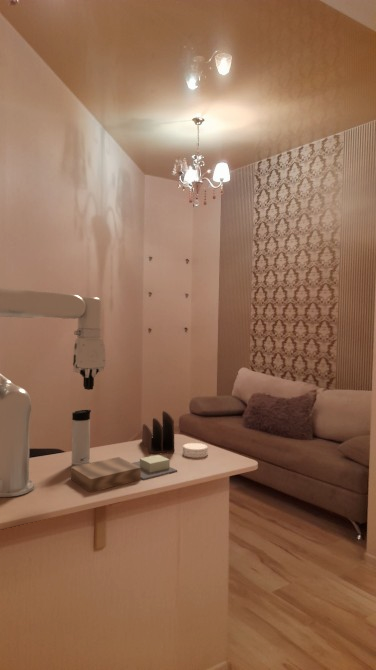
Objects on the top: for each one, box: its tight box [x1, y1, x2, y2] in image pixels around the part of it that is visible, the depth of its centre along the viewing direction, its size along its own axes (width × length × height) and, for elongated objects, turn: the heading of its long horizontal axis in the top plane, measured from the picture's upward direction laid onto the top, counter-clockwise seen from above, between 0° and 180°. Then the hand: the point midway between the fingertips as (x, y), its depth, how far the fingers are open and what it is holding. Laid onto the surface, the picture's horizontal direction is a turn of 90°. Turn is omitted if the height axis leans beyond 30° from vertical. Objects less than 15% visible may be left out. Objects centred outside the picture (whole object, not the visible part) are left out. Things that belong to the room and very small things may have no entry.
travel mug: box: [71, 409, 92, 467], centre depth 159 cm, size 6×7×20 cm
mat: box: [131, 460, 178, 481], centre depth 156 cm, size 14×16×1 cm
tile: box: [139, 454, 171, 472], centre depth 156 cm, size 8×7×3 cm
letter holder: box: [141, 410, 175, 455], centre depth 184 cm, size 10×20×14 cm, turn 15°
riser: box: [70, 456, 142, 493], centre depth 145 cm, size 18×14×4 cm
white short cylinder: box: [182, 442, 209, 459], centre depth 175 cm, size 10×10×4 cm
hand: (88, 389), depth 148 cm, fingers closed
